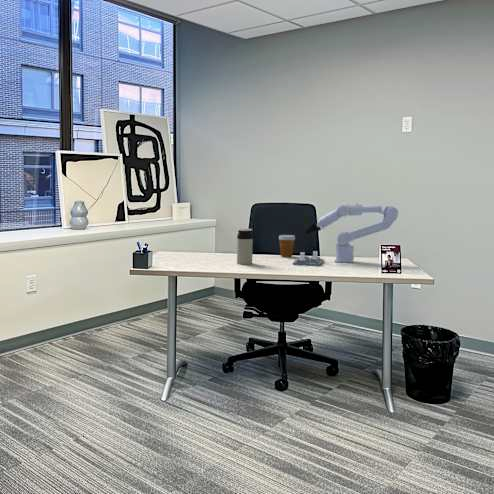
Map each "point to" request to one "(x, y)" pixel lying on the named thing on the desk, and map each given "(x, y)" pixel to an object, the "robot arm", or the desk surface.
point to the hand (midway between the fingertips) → (306, 232)
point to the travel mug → (244, 246)
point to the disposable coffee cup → (286, 245)
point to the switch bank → (308, 261)
